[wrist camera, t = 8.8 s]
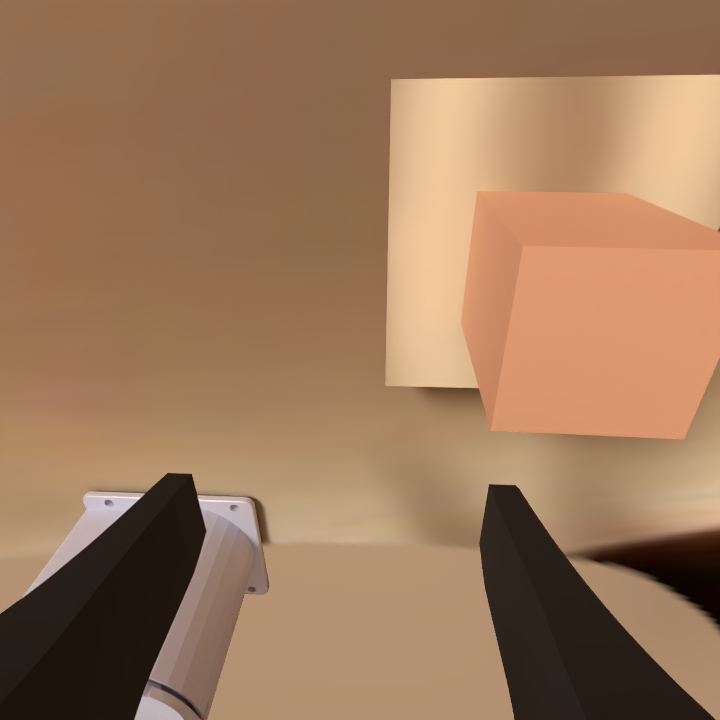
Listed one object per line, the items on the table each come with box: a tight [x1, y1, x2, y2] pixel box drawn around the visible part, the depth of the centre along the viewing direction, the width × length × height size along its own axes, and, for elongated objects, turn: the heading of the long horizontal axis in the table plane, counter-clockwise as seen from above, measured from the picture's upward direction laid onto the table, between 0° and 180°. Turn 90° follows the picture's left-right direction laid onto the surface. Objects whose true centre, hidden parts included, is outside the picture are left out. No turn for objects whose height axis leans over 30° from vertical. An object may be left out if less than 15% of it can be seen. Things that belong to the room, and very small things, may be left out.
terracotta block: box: [461, 191, 720, 439], centre depth 13 cm, size 4×4×6 cm
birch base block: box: [386, 75, 720, 388], centre depth 17 cm, size 10×10×4 cm
